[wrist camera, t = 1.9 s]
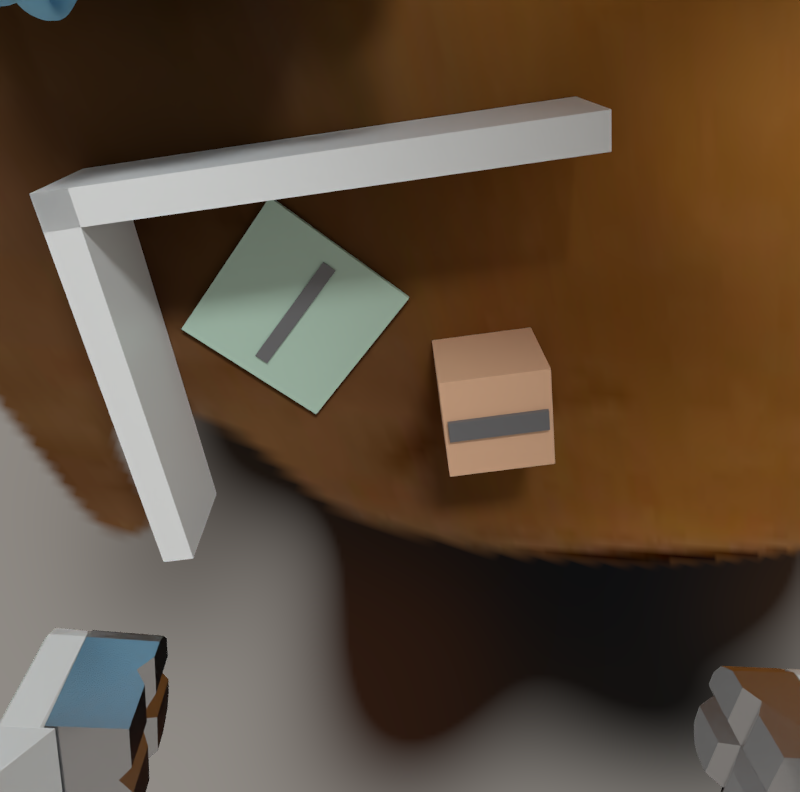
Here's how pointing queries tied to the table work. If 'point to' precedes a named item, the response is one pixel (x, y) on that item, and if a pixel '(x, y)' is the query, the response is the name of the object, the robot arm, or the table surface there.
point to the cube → (494, 401)
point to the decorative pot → (44, 8)
